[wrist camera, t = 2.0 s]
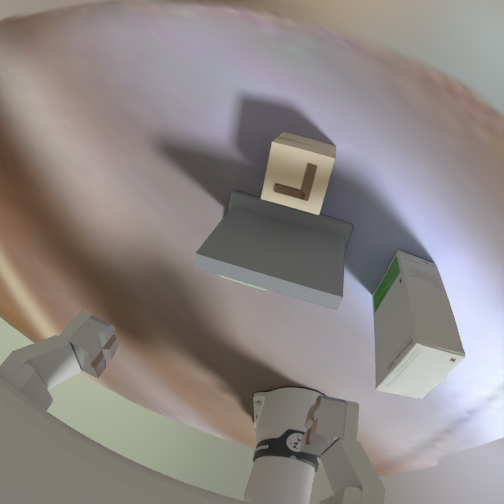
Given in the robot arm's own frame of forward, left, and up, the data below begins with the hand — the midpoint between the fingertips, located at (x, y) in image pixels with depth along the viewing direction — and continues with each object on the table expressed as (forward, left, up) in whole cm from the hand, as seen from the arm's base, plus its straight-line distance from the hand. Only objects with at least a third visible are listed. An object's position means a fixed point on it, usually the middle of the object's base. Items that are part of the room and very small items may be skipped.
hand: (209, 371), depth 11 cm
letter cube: (0, 0, -28) cm, 28 cm away
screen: (-8, 0, -28) cm, 29 cm away
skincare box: (-11, -17, -29) cm, 35 cm away
